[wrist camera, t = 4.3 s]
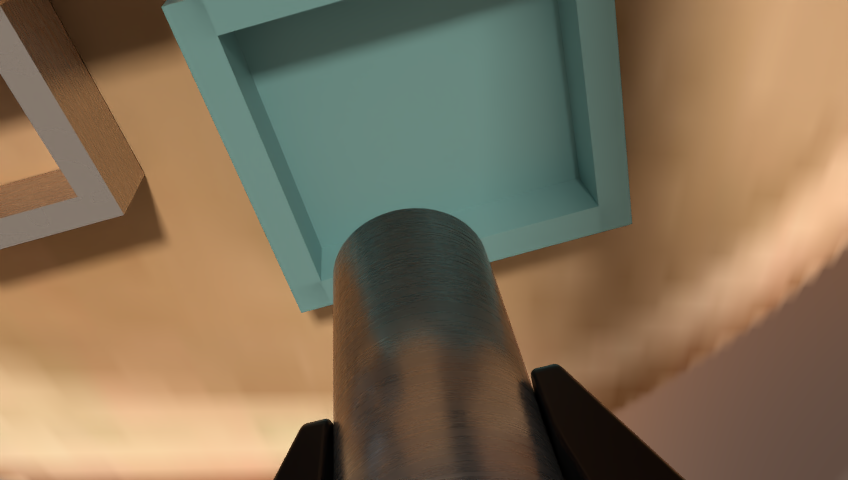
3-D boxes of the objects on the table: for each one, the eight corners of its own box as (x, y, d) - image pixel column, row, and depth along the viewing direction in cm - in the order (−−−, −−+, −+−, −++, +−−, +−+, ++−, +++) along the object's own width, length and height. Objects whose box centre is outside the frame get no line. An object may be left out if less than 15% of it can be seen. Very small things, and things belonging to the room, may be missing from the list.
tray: (573, -130, 18) (604, -121, 16) (605, 186, 23) (632, 223, 21) (180, -16, 18) (161, 6, 16) (304, 268, 24) (301, 312, 22)
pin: (474, 190, 12) (709, 839, 4) (498, 314, 14) (700, 935, 6) (312, 230, 12) (282, 935, 5) (356, 348, 14) (386, 1004, 6)
